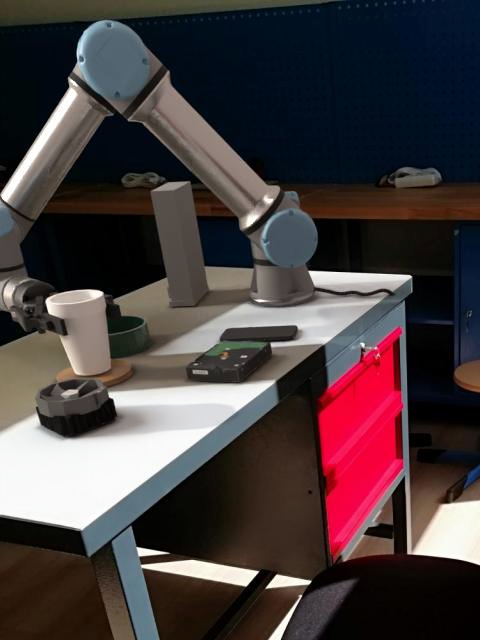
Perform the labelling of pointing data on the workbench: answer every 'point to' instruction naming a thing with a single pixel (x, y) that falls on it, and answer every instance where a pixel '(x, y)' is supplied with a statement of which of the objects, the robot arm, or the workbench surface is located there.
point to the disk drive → (229, 361)
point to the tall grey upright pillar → (180, 243)
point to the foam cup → (83, 329)
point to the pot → (127, 335)
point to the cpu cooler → (74, 406)
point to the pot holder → (108, 378)
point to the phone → (259, 333)
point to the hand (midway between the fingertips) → (92, 320)
